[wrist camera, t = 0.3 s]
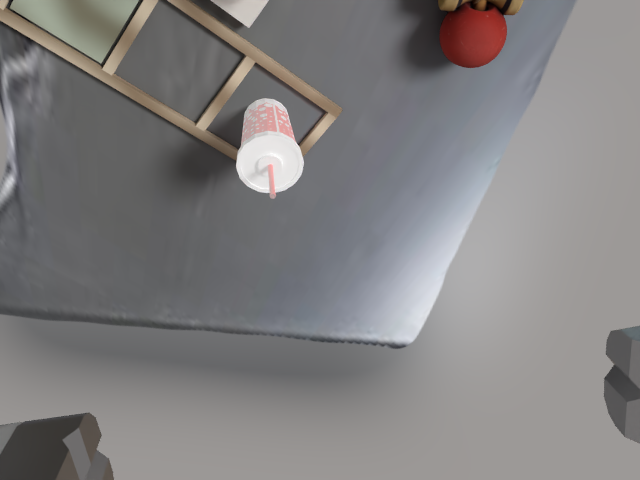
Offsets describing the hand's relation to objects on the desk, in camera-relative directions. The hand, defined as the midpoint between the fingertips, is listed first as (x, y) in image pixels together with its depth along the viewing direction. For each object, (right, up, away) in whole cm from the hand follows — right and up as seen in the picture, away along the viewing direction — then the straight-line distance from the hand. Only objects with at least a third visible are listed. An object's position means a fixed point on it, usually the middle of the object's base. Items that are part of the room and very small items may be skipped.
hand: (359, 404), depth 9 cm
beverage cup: (-6, +15, +52) cm, 54 cm away
